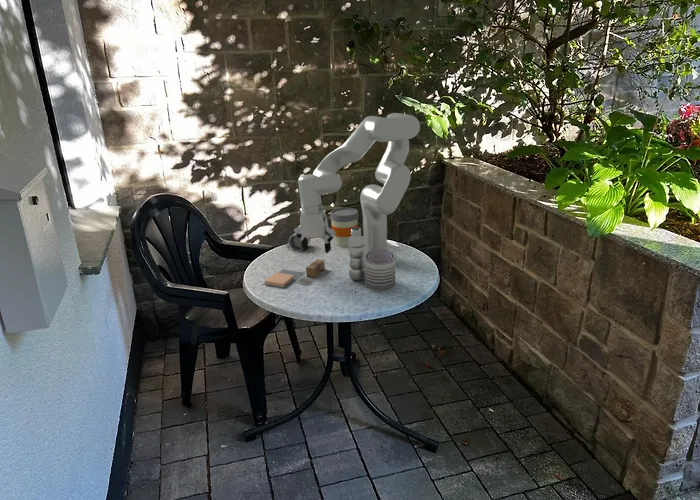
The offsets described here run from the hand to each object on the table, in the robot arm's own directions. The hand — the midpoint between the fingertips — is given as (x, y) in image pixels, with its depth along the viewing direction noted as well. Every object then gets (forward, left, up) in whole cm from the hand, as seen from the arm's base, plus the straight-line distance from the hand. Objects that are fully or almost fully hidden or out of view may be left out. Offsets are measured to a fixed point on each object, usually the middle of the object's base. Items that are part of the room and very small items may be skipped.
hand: (316, 250), depth 189 cm
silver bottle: (-16, -1, -10) cm, 19 cm away
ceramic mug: (+22, -22, -10) cm, 32 cm away
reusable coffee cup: (+4, -34, -10) cm, 36 cm away
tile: (+10, +9, -8) cm, 16 cm away
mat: (+10, +9, -10) cm, 17 cm away
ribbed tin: (-26, +1, -10) cm, 28 cm away
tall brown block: (+1, +4, -10) cm, 11 cm away
